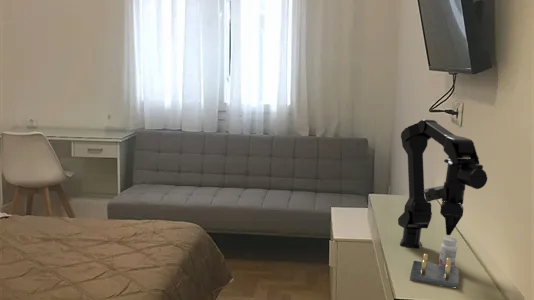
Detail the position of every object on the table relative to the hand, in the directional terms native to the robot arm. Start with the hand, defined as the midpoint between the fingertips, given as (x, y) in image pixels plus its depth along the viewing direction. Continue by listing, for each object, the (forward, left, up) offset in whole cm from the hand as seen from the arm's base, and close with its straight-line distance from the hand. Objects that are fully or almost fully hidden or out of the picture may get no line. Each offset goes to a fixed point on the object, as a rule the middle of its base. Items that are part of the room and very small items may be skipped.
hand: (448, 230), depth 179 cm
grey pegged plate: (+11, -2, -11) cm, 16 cm away
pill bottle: (-1, +1, -11) cm, 11 cm away
